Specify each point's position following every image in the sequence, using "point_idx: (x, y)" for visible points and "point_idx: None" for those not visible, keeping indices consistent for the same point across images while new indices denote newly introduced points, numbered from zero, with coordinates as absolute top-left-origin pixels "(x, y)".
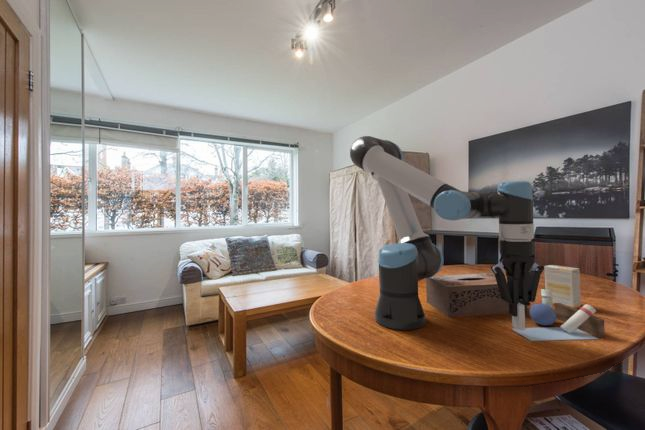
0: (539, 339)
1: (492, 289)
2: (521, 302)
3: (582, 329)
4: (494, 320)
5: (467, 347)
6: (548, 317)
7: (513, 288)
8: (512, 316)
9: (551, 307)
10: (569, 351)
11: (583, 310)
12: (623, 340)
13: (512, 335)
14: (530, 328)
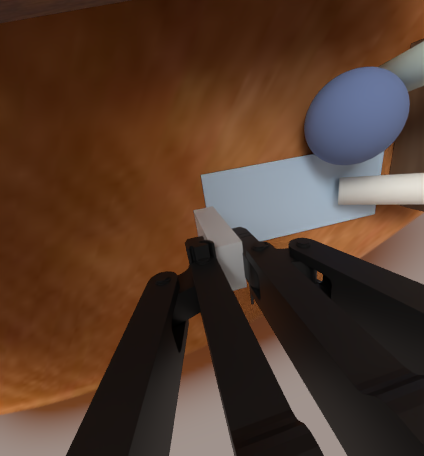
0: None
1: None
2: (247, 275)
3: (392, 158)
4: (173, 84)
5: (19, 321)
6: (341, 164)
7: (218, 387)
8: (199, 225)
9: (422, 85)
10: None
11: None
12: (414, 211)
13: (181, 223)
14: (261, 168)
